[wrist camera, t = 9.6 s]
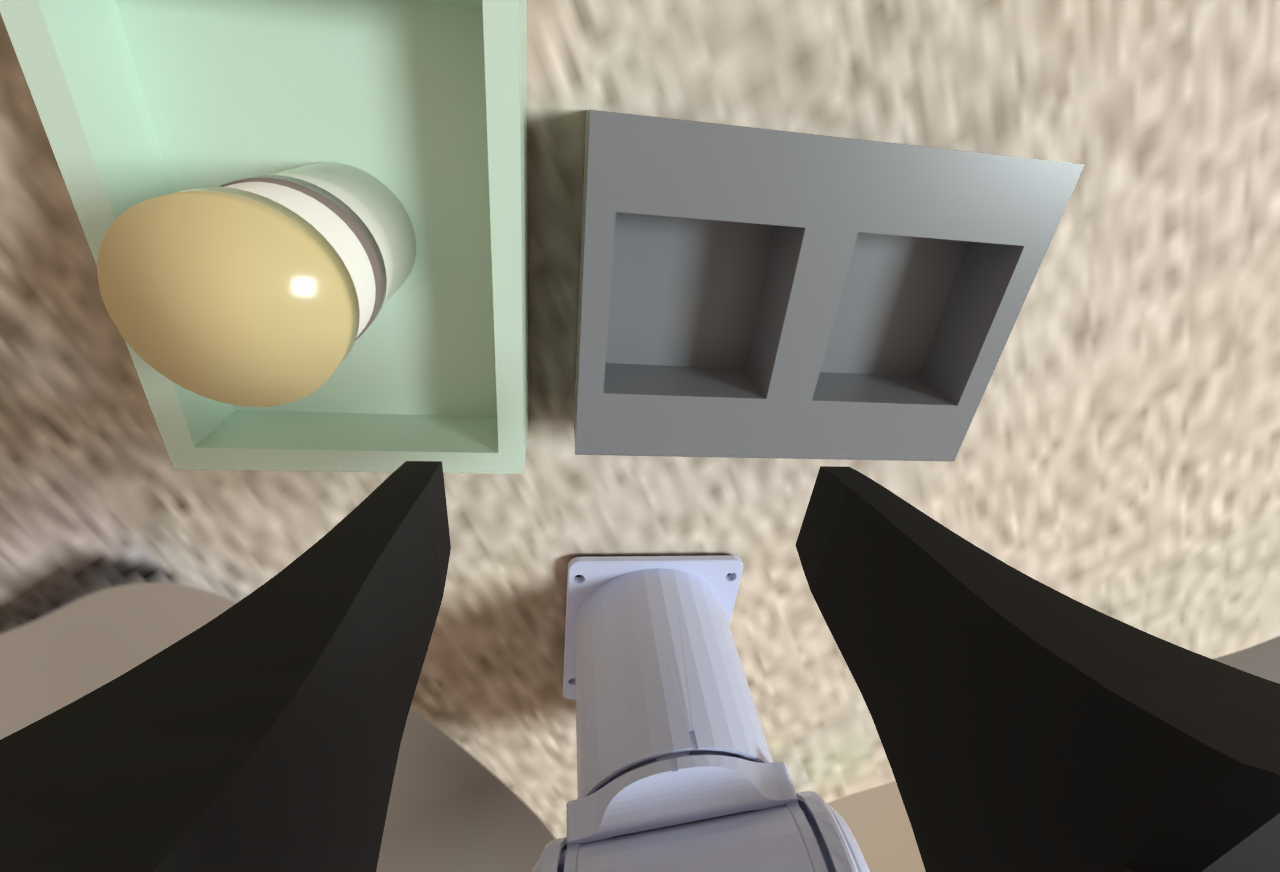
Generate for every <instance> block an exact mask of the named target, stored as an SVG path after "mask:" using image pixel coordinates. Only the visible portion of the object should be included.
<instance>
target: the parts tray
mask: <svg viewBox="0 0 1280 872" xmlns="http://www.w3.org/2000/svg"><path fill="white" fill-rule="evenodd" d="M0 13H1V16H2V18H3V21H4V24H5V26H6V29H7V32H8V34H9V37H10V40H11V42H12V45H13V47H14V50H15V53H16V55H17V58H18V61H19V63H20V66H21V69H22V71H23V74H24V76H25V79H26V82H27V84H28V87H29V90H30V92H31V95H32V97H33V100H34V103H35V105H36V108H37V111H38V113H39V116H40V119H41V121H42V124H43V126H44V129H45V132H46V134H47V137H48V140H49V142H50V145H51V148H52V150H53V153H54V155H55V158H56V161H57V163H58V166H59V169H60V171H61V174H62V177H63V179H64V182H65V184H66V187H67V190H68V192H69V195H70V198H71V200H72V203H73V206H74V208H75V211H76V213H77V216H78V219H79V221H80V224H81V227H82V229H83V232H84V235H85V237H86V240H87V242H88V245H89V248H90V250H91V253H92V256H93V258H94V261H95V263H96V266H97V260H98V253H99V249H100V246H101V243H102V240H103V238H104V236H105V234H106V232H107V230H108V229H109V227H110V226H111V225H112V224H113V222H114V221H115V220H116V219H117V218H118V217H119V216H120V215H121V214H123V213H124V212H125V211H127V210H128V209H129V208H131V207H133V206H135V205H137V204H139V203H141V202H143V201H146V200H149V199H152V198H156V197H159V196H163V195H167V194H172V193H176V192H180V191H184V190H188V189H194V188H200V187H219V186H221V185H223V184H227V183H230V182H233V181H237V180H241V179H245V178H249V177H253V176H260V175H271V174H274V173H278V172H282V171H286V170H290V169H294V168H298V167H301V166H305V165H309V164H313V163H320V162H336V163H343V164H347V165H350V166H353V167H356V168H359V169H361V170H363V171H365V172H367V173H369V174H371V175H372V176H374V177H375V178H377V179H378V180H380V181H381V182H382V183H383V184H384V185H386V186H387V187H388V188H389V189H390V190H391V191H392V192H393V193H394V194H395V195H396V197H397V198H398V199H399V201H400V202H401V203H402V205H403V206H404V208H405V210H406V211H407V213H408V216H409V218H410V220H411V222H412V226H413V229H414V233H415V238H416V257H415V262H414V265H413V268H412V271H411V273H410V274H409V276H408V278H407V279H406V281H405V282H404V283H403V284H402V285H401V287H400V288H399V289H398V290H397V291H396V292H395V294H394V295H393V296H392V297H391V298H390V299H389V301H388V302H387V303H386V304H385V305H384V306H383V308H382V309H381V310H380V312H379V314H378V315H377V317H376V319H375V320H374V321H373V322H372V324H371V325H370V326H369V327H368V328H367V330H366V331H365V332H364V333H363V334H362V335H361V336H360V337H359V338H358V339H357V340H356V341H355V342H354V345H353V347H352V349H351V350H350V352H349V354H348V355H347V357H346V358H345V359H344V360H343V362H342V363H341V364H340V365H339V366H338V368H337V369H336V370H335V371H334V372H333V374H332V375H331V376H330V377H329V378H328V380H327V381H326V382H325V383H324V384H323V385H321V386H320V387H319V388H318V389H317V390H315V391H314V392H312V393H311V394H309V395H308V396H306V397H303V398H301V399H299V400H297V401H294V402H290V403H287V404H283V405H277V406H270V407H247V406H238V405H232V404H227V403H223V402H219V401H215V400H212V399H209V398H206V397H203V396H201V395H198V394H196V393H194V392H192V391H189V390H187V389H185V388H183V387H181V386H180V385H178V384H176V383H174V382H173V381H171V380H169V379H168V378H166V377H165V376H163V375H162V374H161V373H159V372H158V371H156V370H155V369H154V368H153V367H151V366H150V365H149V364H148V363H147V362H145V361H144V360H143V359H142V358H141V357H140V356H139V355H138V354H137V353H136V352H135V351H134V350H133V349H132V348H131V347H130V345H129V344H128V343H127V342H126V340H125V339H124V340H125V343H126V345H127V348H128V350H129V353H130V356H131V358H132V361H133V364H134V366H135V369H136V372H137V374H138V377H139V379H140V382H141V385H142V387H143V390H144V393H145V395H146V398H147V401H148V403H149V406H150V408H151V411H152V414H153V416H154V419H155V422H156V424H157V427H158V429H159V432H160V435H161V437H162V440H163V443H164V445H165V448H166V451H167V453H168V456H169V458H170V461H171V464H172V466H173V469H185V470H263V471H342V472H394V471H396V470H397V469H398V468H399V467H400V466H401V465H402V464H403V463H405V462H406V461H442V467H443V473H498V474H524V466H525V457H526V448H527V439H528V218H527V1H526V0H0Z"/></svg>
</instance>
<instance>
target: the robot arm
mask: <svg viewBox="0 0 1280 872" xmlns="http://www.w3.org/2000/svg"><path fill="white" fill-rule="evenodd" d="M796 548H797V551H798V554H799V557H800V560H801V564H802V567H803V570H804V573H805V576H806V579H807V581H808V584H809V587H810V590H811V592H812V594H813V596H814V599H815V601H816V603H817V605H818V607H819V609H820V611H821V613H822V615H823V617H824V619H825V621H826V623H827V625H828V627H829V629H830V631H831V633H832V635H833V637H834V639H835V641H836V643H837V645H838V647H839V649H840V651H841V653H842V655H843V657H844V659H845V661H846V663H847V665H848V667H849V669H850V671H851V673H852V675H853V677H854V679H855V681H856V683H857V685H858V687H859V689H860V691H861V694H862V696H863V698H864V700H865V702H866V705H867V707H868V709H869V711H870V714H871V716H872V718H873V721H874V724H875V726H876V729H877V731H878V734H879V737H880V739H881V742H882V745H883V747H884V750H885V753H886V755H887V758H888V760H889V763H890V766H891V768H892V771H893V774H894V777H895V780H896V782H897V785H898V788H899V791H900V794H901V797H902V800H903V803H904V806H905V809H906V811H907V814H908V817H909V820H910V823H911V826H912V828H913V832H914V835H915V838H916V842H917V845H918V848H919V851H920V854H921V858H922V861H923V863H924V867H925V870H926V872H1280V684H1278V683H1275V682H1272V681H1269V680H1266V679H1263V678H1260V677H1258V676H1254V675H1252V674H1249V673H1247V672H1244V671H1241V670H1238V669H1236V668H1234V667H1231V666H1228V665H1226V664H1223V663H1220V662H1218V661H1215V660H1213V659H1210V658H1207V657H1205V656H1202V655H1199V654H1197V653H1194V652H1192V651H1189V650H1187V649H1184V648H1182V647H1179V646H1177V645H1174V644H1172V643H1170V642H1167V641H1165V640H1162V639H1160V638H1157V637H1155V636H1153V635H1150V634H1148V633H1146V632H1143V631H1141V630H1139V629H1137V628H1134V627H1132V626H1130V625H1128V624H1125V623H1123V622H1121V621H1119V620H1116V619H1114V618H1112V617H1110V616H1107V615H1105V614H1103V613H1101V612H1099V611H1096V610H1094V609H1092V608H1090V607H1088V606H1086V605H1084V604H1082V603H1080V602H1078V601H1075V600H1073V599H1071V598H1069V597H1068V596H1066V595H1064V594H1062V593H1060V592H1058V591H1056V590H1054V589H1052V588H1050V587H1048V586H1046V585H1044V584H1042V583H1040V582H1038V581H1036V580H1034V579H1033V578H1031V577H1029V576H1027V575H1025V574H1023V573H1021V572H1020V571H1018V570H1016V569H1014V568H1012V567H1011V566H1009V565H1007V564H1005V563H1004V562H1002V561H1000V560H999V559H997V558H995V557H993V556H992V555H990V554H988V553H987V552H985V551H983V550H982V549H980V548H978V547H976V546H975V545H973V544H971V543H970V542H968V541H967V540H965V539H963V538H962V537H960V536H959V535H957V534H955V533H954V532H952V531H951V530H949V529H947V528H946V527H944V526H943V525H941V524H940V523H938V522H936V521H935V520H933V519H932V518H930V517H929V516H927V515H926V514H924V513H923V512H921V511H920V510H918V509H916V508H915V507H913V506H912V505H910V504H909V503H907V502H906V501H904V500H903V499H901V498H900V497H898V496H897V495H895V494H894V493H892V492H890V491H889V490H887V489H886V488H884V487H883V486H881V485H880V484H878V483H876V482H875V481H873V480H872V479H870V478H868V477H867V476H865V475H863V474H862V473H860V472H858V471H856V470H854V469H852V468H850V467H820V470H819V473H818V476H817V479H816V482H815V485H814V489H813V492H812V495H811V498H810V501H809V504H808V508H807V511H806V514H805V517H804V520H803V523H802V527H801V530H800V533H799V536H798V539H797V542H796ZM450 549H451V546H450V536H449V526H448V517H447V507H446V497H445V487H444V477H443V467H442V461H406V462H405V463H403V464H402V465H401V466H400V467H399V468H398V469H397V470H396V471H394V472H393V473H392V474H391V475H390V476H389V477H388V478H387V479H386V480H385V481H384V482H383V483H382V484H381V485H380V486H379V487H378V488H376V489H375V490H374V491H373V492H372V493H371V494H370V495H369V496H368V497H367V498H366V499H365V500H364V501H363V502H362V503H361V504H359V505H358V506H357V507H356V508H355V509H354V510H353V511H352V512H351V513H350V514H348V515H347V516H346V517H345V518H344V519H343V520H342V521H341V522H340V523H338V524H337V525H336V526H335V527H334V528H333V529H332V530H331V531H330V532H328V533H327V534H326V535H325V536H324V537H323V538H321V539H320V540H319V541H318V542H317V543H315V544H314V545H313V546H312V547H311V548H309V549H308V550H307V551H306V552H304V553H303V554H302V555H301V556H300V557H298V558H297V559H296V560H295V561H293V562H292V563H291V564H290V565H288V566H287V567H286V568H285V569H284V570H282V571H281V572H280V573H278V574H277V575H276V576H274V577H273V578H272V579H270V580H269V581H268V582H266V583H265V584H264V585H262V586H261V587H259V588H258V589H257V590H255V591H254V592H253V593H251V594H250V595H248V596H247V597H245V598H244V599H242V600H241V601H240V602H238V603H237V604H235V605H234V606H232V607H231V608H229V609H228V610H226V611H225V612H224V613H222V614H221V615H219V616H218V617H216V618H215V619H213V620H212V621H210V622H209V623H207V624H206V625H204V626H202V627H201V628H199V629H197V630H196V631H194V632H193V633H191V634H190V635H188V636H186V637H184V638H183V639H181V640H179V641H178V642H176V643H174V644H173V645H171V646H169V647H168V648H167V649H165V650H163V651H162V652H160V653H158V654H157V655H155V656H153V657H152V658H150V659H148V660H147V661H145V662H143V663H142V664H140V665H138V666H137V667H135V668H133V669H132V670H130V671H128V672H127V673H125V674H123V675H121V676H120V677H118V678H116V679H114V680H112V681H111V682H109V683H107V684H105V685H103V686H102V687H100V688H98V689H96V690H94V691H93V692H91V693H89V694H87V695H85V696H84V697H82V698H80V699H78V700H76V701H74V702H73V703H71V704H69V705H67V706H65V707H63V708H61V709H59V710H57V711H56V712H54V713H52V714H50V715H48V716H46V717H44V718H42V719H41V720H38V721H37V722H34V723H33V724H31V725H29V726H27V727H25V728H23V729H21V730H19V731H17V732H15V733H13V734H11V735H10V736H7V737H5V738H3V739H1V740H0V872H376V869H377V863H378V858H379V852H380V847H381V841H382V836H383V830H384V825H385V820H386V814H387V808H388V803H389V798H390V793H391V788H392V783H393V777H394V773H395V768H396V763H397V758H398V753H399V748H400V743H401V739H402V735H403V731H404V727H405V723H406V720H407V716H408V712H409V709H410V706H411V702H412V699H413V696H414V692H415V689H416V686H417V682H418V679H419V676H420V672H421V669H422V666H423V662H424V659H425V656H426V652H427V649H428V646H429V642H430V639H431V636H432V632H433V629H434V626H435V622H436V619H437V615H438V612H439V609H440V605H441V601H442V598H443V592H444V586H445V581H446V575H447V569H448V562H449V556H450ZM742 571H743V563H742V561H741V559H740V558H739V557H738V556H734V555H720V556H610V557H575V558H573V559H571V560H570V561H569V563H568V574H567V599H566V623H565V647H564V672H563V696H564V697H565V698H566V699H569V700H576V732H577V780H578V799H576V800H572V801H569V802H568V803H567V838H566V837H565V838H560V839H555V840H552V841H550V842H548V844H547V845H546V847H545V848H544V850H543V852H542V856H541V857H540V859H539V860H538V862H537V863H536V865H535V867H534V868H533V870H532V872H870V871H869V869H868V866H867V864H866V862H865V859H864V857H863V855H862V852H861V850H860V848H859V846H858V844H857V842H856V840H855V838H854V836H853V834H852V832H851V830H850V829H849V827H848V825H847V824H846V822H845V821H844V819H843V818H842V817H841V815H840V814H839V813H838V812H837V811H836V810H835V809H833V808H832V807H831V806H830V805H828V804H827V803H826V802H825V801H824V800H823V799H822V798H821V797H820V796H819V795H818V794H816V793H815V792H812V791H806V792H801V793H795V790H794V787H793V784H792V781H791V778H790V775H789V772H788V769H787V766H786V763H785V762H783V761H779V762H773V761H772V757H771V754H770V751H769V748H768V745H767V742H766V739H765V736H764V733H763V729H762V726H761V723H760V720H759V717H758V714H757V711H756V708H755V705H754V701H753V698H752V695H751V692H750V689H749V686H748V683H747V680H746V677H745V673H744V670H743V667H742V664H741V661H740V658H739V655H738V652H737V649H736V645H735V642H734V639H733V636H732V633H731V630H730V627H729V623H730V619H731V615H732V611H733V607H734V603H735V599H736V595H737V591H738V587H739V583H740V579H741V575H742ZM729 573H732V574H731V575H727V574H729ZM576 575H582V577H575V576H576Z"/></svg>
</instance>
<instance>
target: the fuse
mask: <svg viewBox="0 0 1280 872" xmlns="http://www.w3.org/2000/svg"><path fill="white" fill-rule="evenodd" d="M415 257H416V238H415V233H414V229H413V226H412V222H411V220H410V218H409V216H408V213H407V211H406V210H405V208H404V206H403V205H402V203H401V202H400V201H399V199H398V198H397V197H396V195H395V194H394V193H393V192H392V191H391V190H390V189H389V188H388V187H387V186H386V185H384V184H383V183H382V182H381V181H380V180H378V179H377V178H375V177H374V176H372V175H371V174H369V173H367V172H365V171H363V170H361V169H359V168H356V167H353V166H350V165H347V164H343V163H336V162H320V163H313V164H309V165H305V166H301V167H298V168H294V169H290V170H286V171H282V172H278V173H274V174H271V175H260V176H253V177H249V178H245V179H241V180H237V181H233V182H230V183H227V184H223V185H221V186H219V187H200V188H194V189H188V190H184V191H180V192H176V193H172V194H167V195H163V196H159V197H156V198H152V199H149V200H146V201H143V202H141V203H139V204H137V205H135V206H133V207H131V208H129V209H128V210H127V211H125V212H124V213H123V214H121V215H120V216H119V217H118V218H117V219H116V220H115V221H114V222H113V224H112V225H111V226H110V227H109V229H108V230H107V232H106V234H105V236H104V238H103V240H102V243H101V246H100V249H99V253H98V260H97V279H98V284H99V289H100V294H101V297H102V299H103V302H104V305H105V308H106V310H107V312H108V314H109V316H110V318H111V320H112V322H113V323H114V325H115V326H116V328H117V330H118V331H119V333H120V334H121V336H122V337H123V338H124V339H125V340H126V342H127V343H128V344H129V345H130V347H131V348H132V349H133V350H134V351H135V352H136V353H137V354H138V355H139V356H140V357H141V358H142V359H143V360H144V361H145V362H147V363H148V364H149V365H150V366H151V367H153V368H154V369H155V370H156V371H158V372H159V373H161V374H162V375H163V376H165V377H166V378H168V379H169V380H171V381H173V382H174V383H176V384H178V385H180V386H181V387H183V388H185V389H187V390H189V391H192V392H194V393H196V394H198V395H201V396H203V397H206V398H209V399H212V400H215V401H219V402H223V403H227V404H232V405H238V406H247V407H270V406H277V405H283V404H287V403H290V402H294V401H297V400H299V399H301V398H303V397H306V396H308V395H309V394H311V393H312V392H314V391H315V390H317V389H318V388H319V387H320V386H321V385H323V384H324V383H325V382H326V381H327V380H328V378H329V377H330V376H331V375H332V374H333V372H334V371H335V370H336V369H337V368H338V366H339V365H340V364H341V363H342V362H343V360H344V359H345V358H346V357H347V355H348V354H349V352H350V350H351V349H352V347H353V345H354V342H355V341H356V340H357V339H358V338H359V337H360V336H361V335H362V334H363V333H364V332H365V331H366V330H367V328H368V327H369V326H370V325H371V324H372V322H373V321H374V320H375V319H376V317H377V315H378V314H379V312H380V310H381V309H382V308H383V306H384V305H385V304H386V303H387V302H388V301H389V299H390V298H391V297H392V296H393V295H394V294H395V292H396V291H397V290H398V289H399V288H400V287H401V285H402V284H403V283H404V282H405V281H406V279H407V278H408V276H409V274H410V273H411V271H412V268H413V265H414V262H415Z"/></svg>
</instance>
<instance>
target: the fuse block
mask: <svg viewBox="0 0 1280 872" xmlns="http://www.w3.org/2000/svg"><path fill="white" fill-rule="evenodd" d="M1084 165H1085V164H1077V163H1068V162H1059V161H1050V160H1041V159H1032V158H1023V157H1014V156H1005V155H996V154H986V153H977V152H968V151H959V150H950V149H941V148H932V147H923V146H914V145H905V144H896V143H886V142H877V141H868V140H859V139H850V138H841V137H832V136H823V135H814V134H805V133H796V132H787V131H777V130H768V129H759V128H750V127H741V126H732V125H723V124H714V123H705V122H696V121H687V120H677V119H668V118H659V117H650V116H641V115H632V114H623V113H614V112H605V111H596V110H586V127H585V152H584V176H583V201H582V225H581V250H580V275H579V299H578V324H577V348H576V373H575V397H574V431H575V455H626V456H681V457H737V458H792V459H847V460H903V461H954V460H955V458H956V455H957V453H958V451H959V449H960V446H961V444H962V442H963V440H964V437H965V435H966V433H967V430H968V428H969V426H970V424H971V421H972V419H973V417H974V415H975V412H976V410H977V408H978V406H979V403H980V401H981V399H982V396H983V394H984V392H985V390H986V387H987V385H988V383H989V381H990V378H991V376H992V374H993V371H994V369H995V367H996V365H997V362H998V360H999V358H1000V356H1001V353H1002V351H1003V349H1004V347H1005V344H1006V342H1007V340H1008V337H1009V335H1010V333H1011V331H1012V328H1013V326H1014V324H1015V322H1016V319H1017V317H1018V315H1019V312H1020V310H1021V308H1022V306H1023V303H1024V301H1025V299H1026V297H1027V294H1028V292H1029V290H1030V288H1031V285H1032V283H1033V281H1034V278H1035V276H1036V274H1037V272H1038V269H1039V267H1040V265H1041V263H1042V260H1043V258H1044V256H1045V253H1046V251H1047V249H1048V247H1049V244H1050V242H1051V240H1052V238H1053V235H1054V233H1055V231H1056V229H1057V226H1058V224H1059V222H1060V219H1061V217H1062V215H1063V213H1064V210H1065V208H1066V206H1067V204H1068V201H1069V199H1070V197H1071V194H1072V192H1073V190H1074V188H1075V185H1076V183H1077V181H1078V179H1079V176H1080V174H1081V172H1082V170H1083V167H1084Z"/></svg>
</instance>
